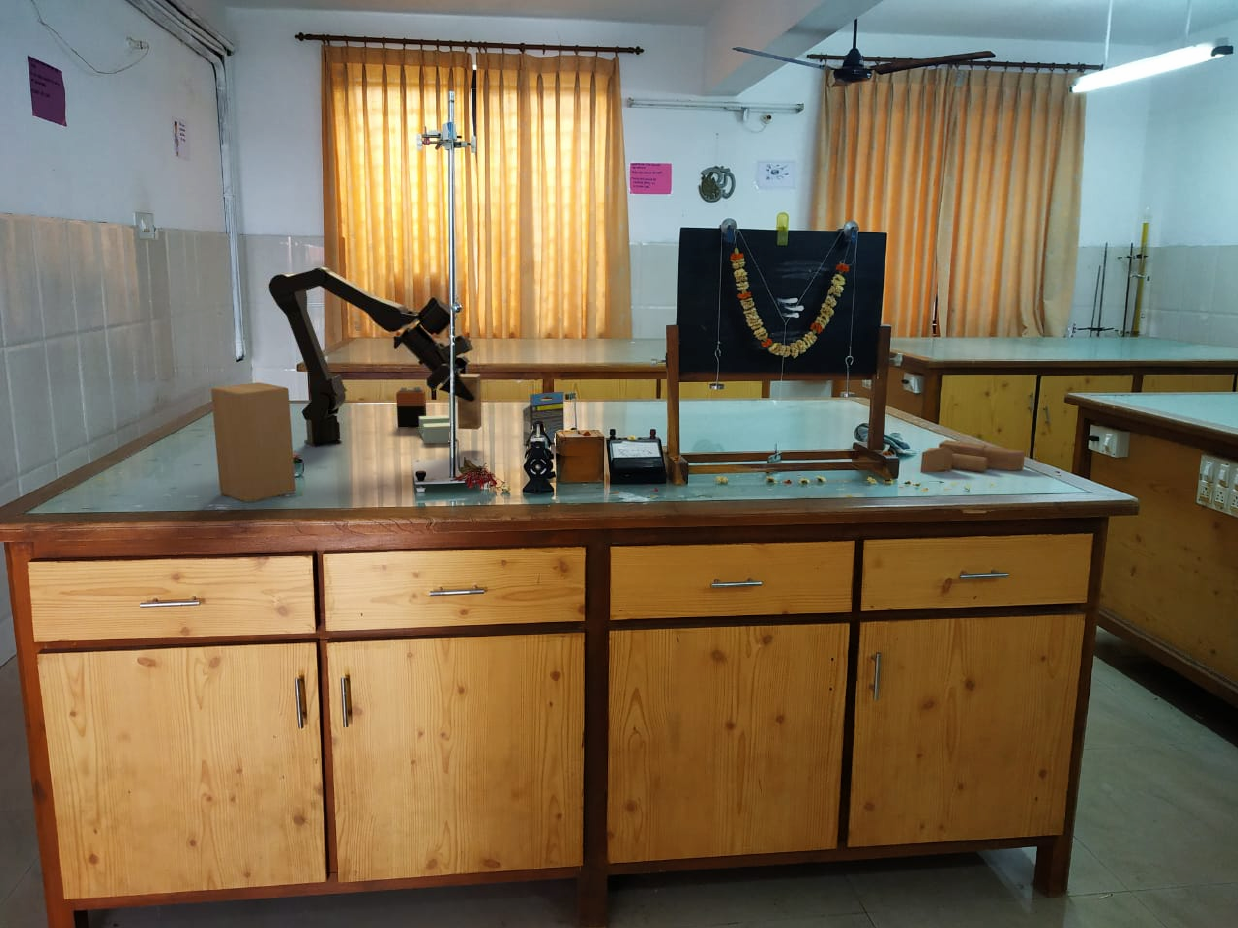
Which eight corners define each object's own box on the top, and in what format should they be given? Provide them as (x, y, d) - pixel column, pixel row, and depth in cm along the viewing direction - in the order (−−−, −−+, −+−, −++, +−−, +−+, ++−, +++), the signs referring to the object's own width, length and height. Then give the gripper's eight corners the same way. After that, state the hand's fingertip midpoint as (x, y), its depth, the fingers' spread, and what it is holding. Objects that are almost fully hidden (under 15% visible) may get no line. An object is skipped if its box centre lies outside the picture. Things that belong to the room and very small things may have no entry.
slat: (458, 428, 215) (457, 376, 213) (462, 425, 219) (461, 373, 217) (477, 429, 215) (476, 376, 212) (481, 426, 219) (480, 374, 216)
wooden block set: (941, 434, 212) (1026, 445, 202) (939, 459, 213) (1023, 471, 203) (917, 447, 199) (1007, 459, 189) (914, 473, 200) (1004, 487, 190)
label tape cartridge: (556, 440, 227) (556, 389, 224) (564, 443, 224) (564, 391, 221) (523, 444, 222) (522, 392, 219) (530, 447, 219) (530, 394, 216)
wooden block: (268, 483, 185) (260, 381, 180) (296, 492, 178) (289, 387, 174) (219, 493, 177) (209, 387, 172) (247, 503, 171) (238, 393, 166)
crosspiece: (455, 442, 223) (454, 425, 222) (425, 444, 221) (424, 427, 220) (447, 430, 236) (447, 415, 235) (419, 432, 234) (418, 416, 233)
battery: (424, 428, 239) (423, 388, 237) (397, 428, 239) (395, 388, 236) (426, 424, 243) (425, 386, 241) (400, 424, 243) (398, 386, 240)
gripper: (439, 328, 203) (491, 380, 205) (459, 320, 221) (507, 369, 223) (404, 364, 205) (456, 415, 207) (427, 353, 223) (474, 401, 225)
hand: (475, 398), depth 216 cm, fingers closed on slat, 4 cm apart
